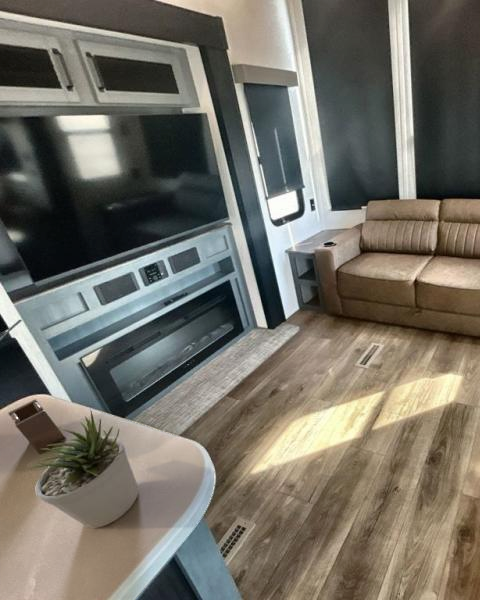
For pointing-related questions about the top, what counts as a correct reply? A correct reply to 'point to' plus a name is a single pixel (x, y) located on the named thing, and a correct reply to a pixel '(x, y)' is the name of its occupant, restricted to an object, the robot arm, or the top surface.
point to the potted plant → (89, 478)
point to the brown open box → (36, 426)
